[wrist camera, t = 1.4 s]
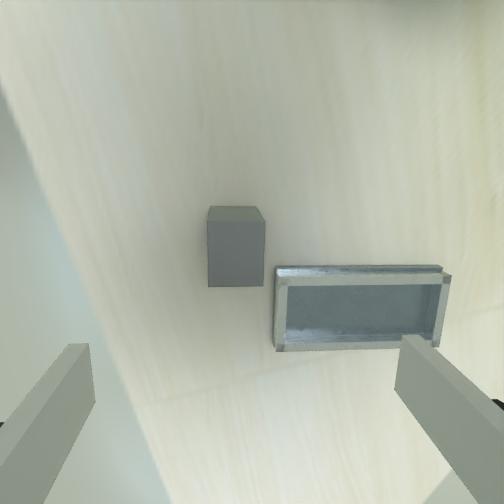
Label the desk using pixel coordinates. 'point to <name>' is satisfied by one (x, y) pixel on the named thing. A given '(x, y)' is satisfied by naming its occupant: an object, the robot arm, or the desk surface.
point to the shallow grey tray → (357, 306)
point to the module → (235, 246)
